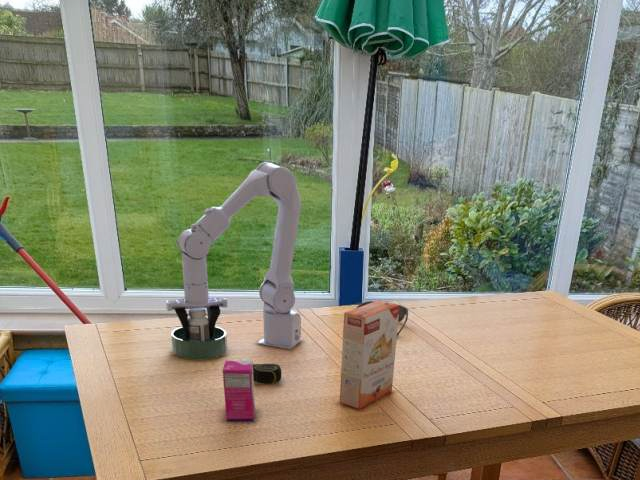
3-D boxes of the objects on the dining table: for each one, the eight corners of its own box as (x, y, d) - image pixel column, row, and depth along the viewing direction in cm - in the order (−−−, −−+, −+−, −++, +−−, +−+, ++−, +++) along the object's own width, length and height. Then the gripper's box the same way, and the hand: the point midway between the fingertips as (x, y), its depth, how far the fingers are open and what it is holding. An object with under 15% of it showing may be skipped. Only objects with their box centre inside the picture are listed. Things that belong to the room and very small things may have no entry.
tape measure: (280, 376, 174) (280, 361, 172) (282, 387, 168) (282, 372, 166) (251, 376, 172) (251, 361, 171) (252, 387, 167) (251, 372, 165)
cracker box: (361, 411, 159) (366, 317, 149) (338, 403, 162) (341, 311, 151) (394, 392, 170) (400, 303, 159) (372, 385, 172) (377, 298, 162)
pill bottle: (204, 342, 187) (202, 305, 182) (214, 348, 184) (212, 311, 179) (184, 346, 184) (182, 308, 179) (194, 352, 181) (192, 314, 176)
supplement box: (227, 410, 155) (225, 359, 150) (255, 410, 156) (254, 359, 150) (224, 421, 150) (222, 369, 145) (253, 422, 151) (252, 370, 145)
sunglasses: (411, 321, 218) (412, 305, 215) (399, 344, 204) (400, 328, 201) (358, 314, 220) (358, 299, 218) (343, 337, 207) (343, 320, 204)
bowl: (236, 348, 189) (235, 329, 186) (210, 364, 177) (209, 345, 175) (190, 340, 192) (189, 321, 189) (162, 356, 180) (160, 336, 178)
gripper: (221, 276, 182) (224, 329, 188) (162, 279, 176) (166, 333, 183) (228, 284, 176) (230, 338, 183) (167, 287, 171) (171, 342, 177)
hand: (199, 336), depth 183 cm, fingers closed on pill bottle, 5 cm apart
